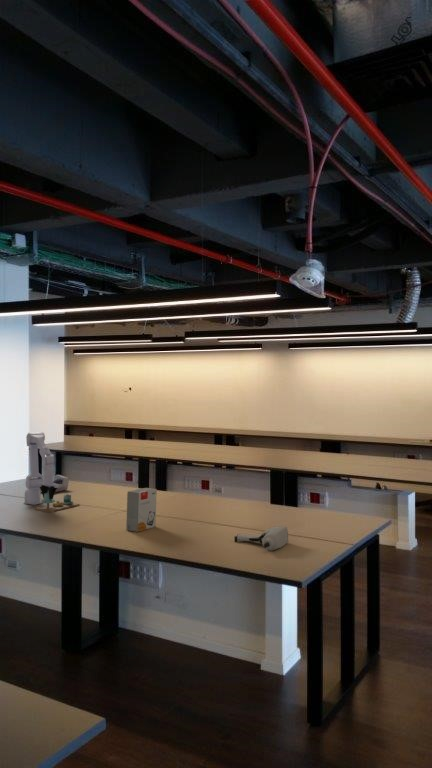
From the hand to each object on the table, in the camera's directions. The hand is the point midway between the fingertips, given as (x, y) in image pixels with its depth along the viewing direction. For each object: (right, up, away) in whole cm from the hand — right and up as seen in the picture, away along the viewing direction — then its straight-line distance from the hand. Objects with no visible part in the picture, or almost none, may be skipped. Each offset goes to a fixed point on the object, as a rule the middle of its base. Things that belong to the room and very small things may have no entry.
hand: (48, 498), depth 339 cm
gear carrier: (+4, -7, +7) cm, 10 cm away
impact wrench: (+118, -8, -70) cm, 138 cm away
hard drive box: (+60, -7, -41) cm, 74 cm away
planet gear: (0, -2, 0) cm, 2 cm away
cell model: (-14, -7, +59) cm, 61 cm away
